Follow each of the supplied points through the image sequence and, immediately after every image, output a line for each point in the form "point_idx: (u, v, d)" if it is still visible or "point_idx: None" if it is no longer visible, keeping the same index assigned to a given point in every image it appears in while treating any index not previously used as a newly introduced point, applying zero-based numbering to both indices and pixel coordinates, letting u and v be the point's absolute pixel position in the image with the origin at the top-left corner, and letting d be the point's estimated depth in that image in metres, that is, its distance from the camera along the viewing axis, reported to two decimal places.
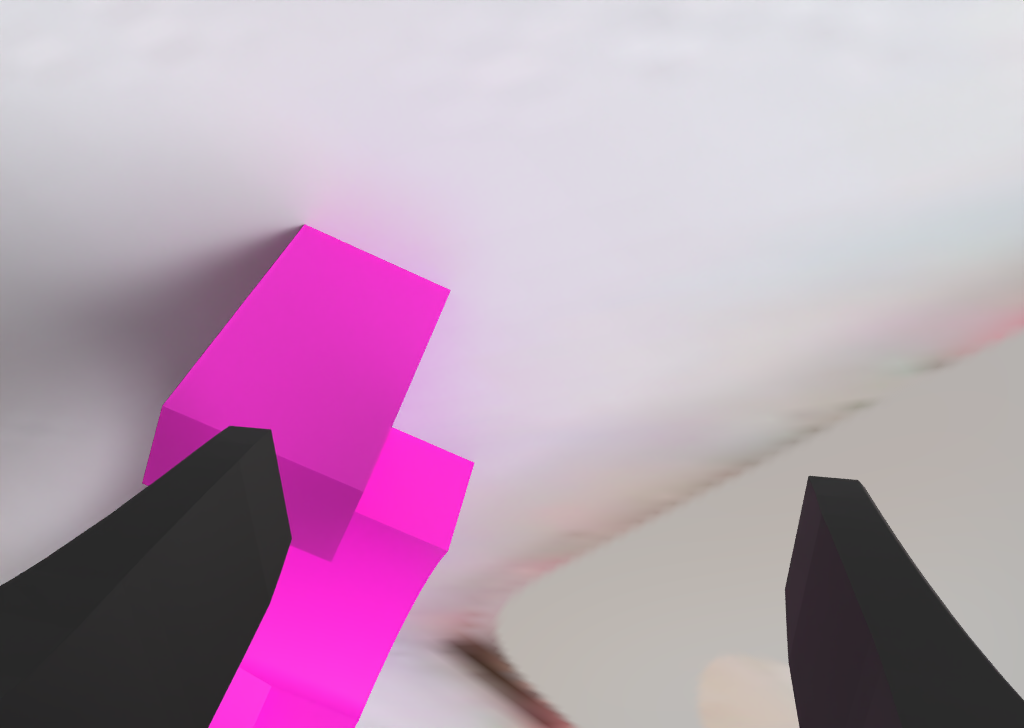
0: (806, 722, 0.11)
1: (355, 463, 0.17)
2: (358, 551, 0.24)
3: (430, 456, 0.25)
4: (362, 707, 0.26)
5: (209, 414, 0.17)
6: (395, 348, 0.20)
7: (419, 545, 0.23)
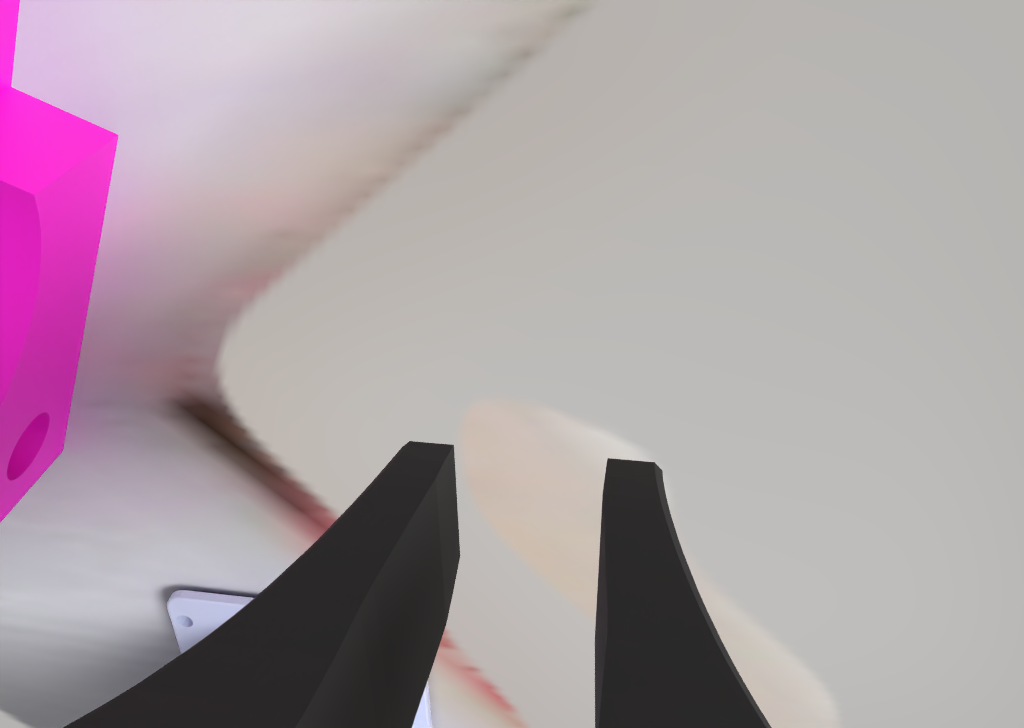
0: (595, 697, 0.12)
1: None
2: None
3: (57, 119, 0.21)
4: None
5: None
6: None
7: (5, 194, 0.19)
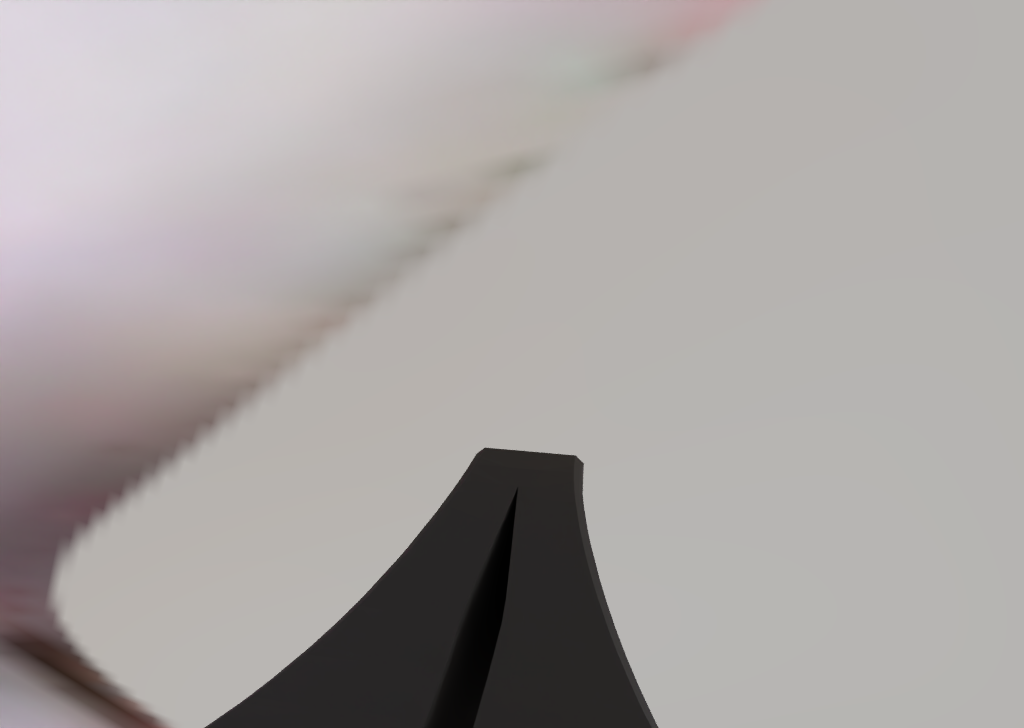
0: None
1: None
2: None
3: None
4: None
5: None
6: None
7: None
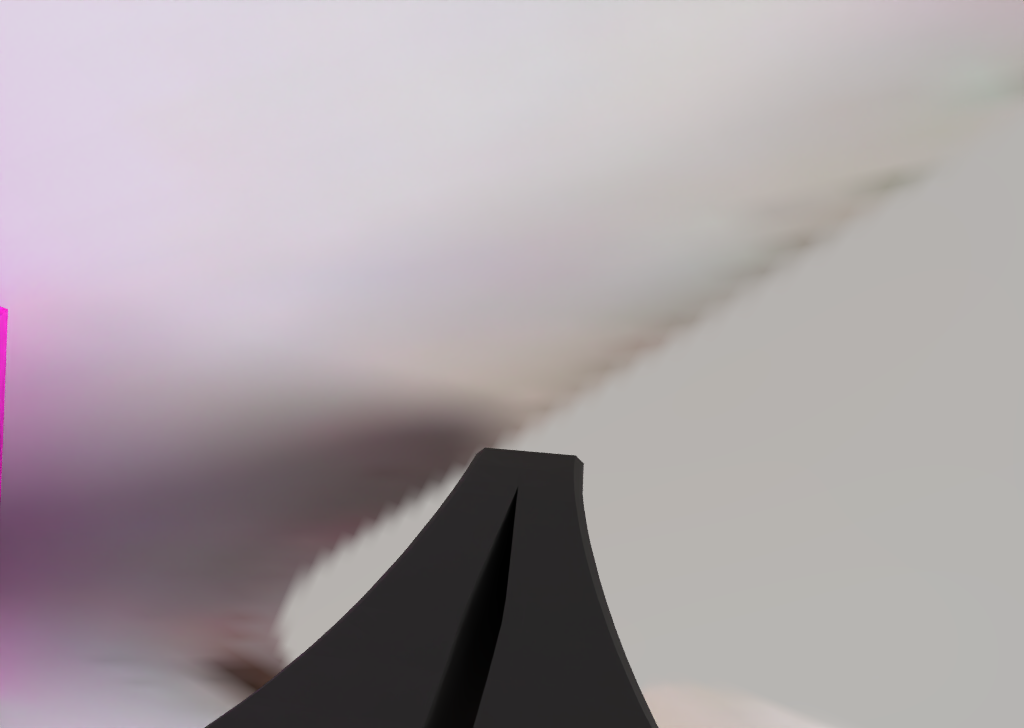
0: None
1: None
2: None
3: None
4: None
5: None
6: None
7: None
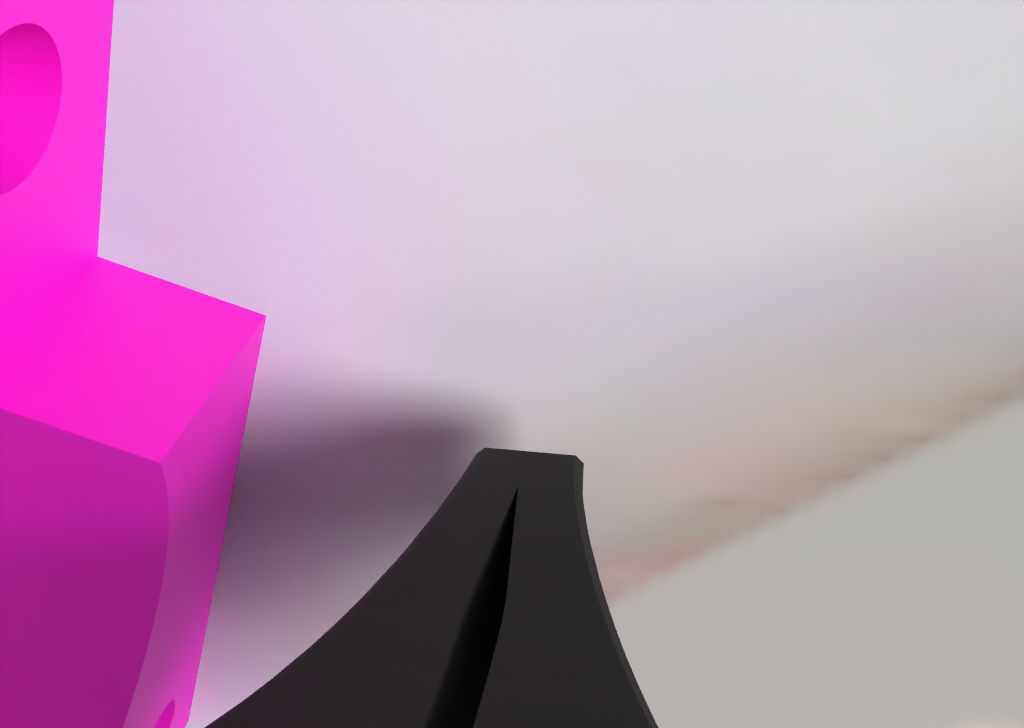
0: None
1: None
2: (26, 489, 0.12)
3: (173, 303, 0.13)
4: None
5: None
6: None
7: (111, 459, 0.11)
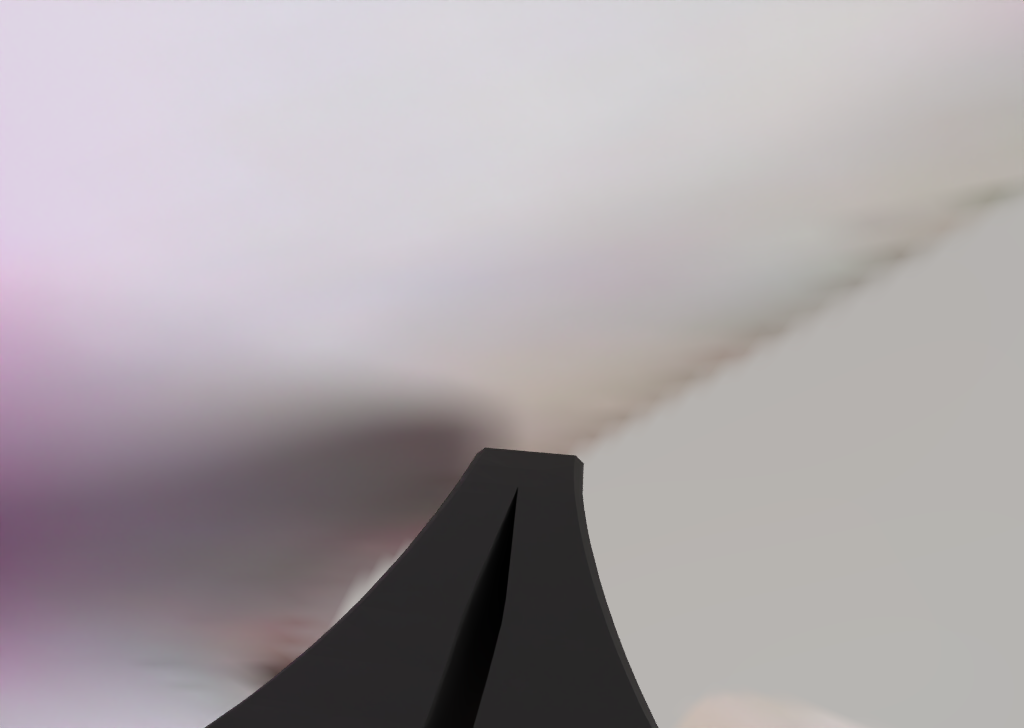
0: None
1: None
2: None
3: None
4: None
5: None
6: None
7: None
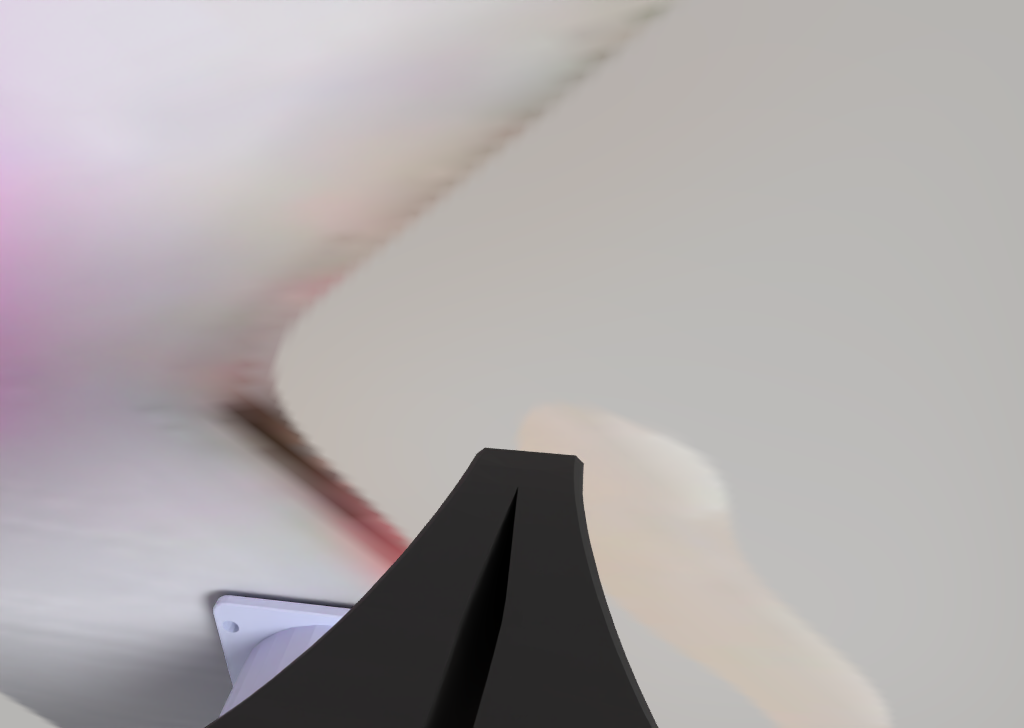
0: None
1: None
2: None
3: None
4: None
5: None
6: None
7: None
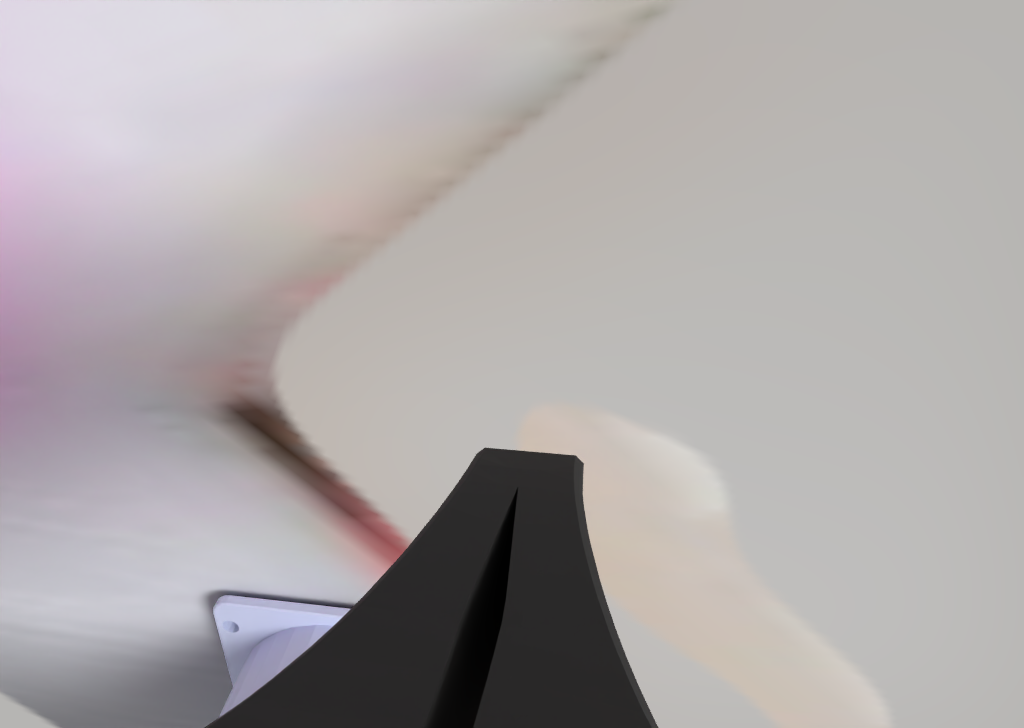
0: None
1: None
2: None
3: None
4: None
5: None
6: None
7: None
